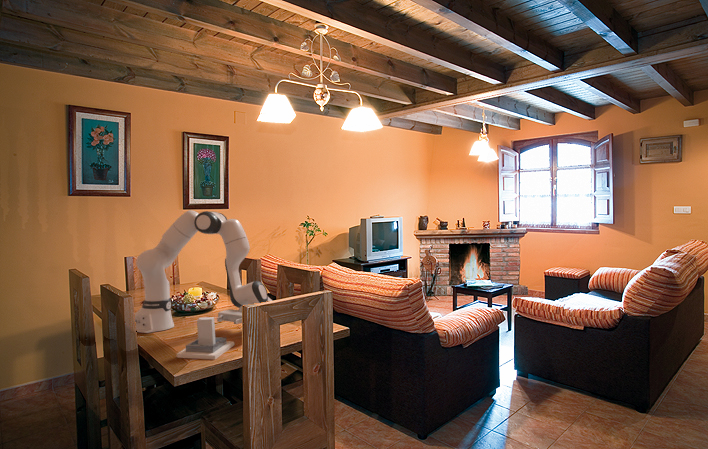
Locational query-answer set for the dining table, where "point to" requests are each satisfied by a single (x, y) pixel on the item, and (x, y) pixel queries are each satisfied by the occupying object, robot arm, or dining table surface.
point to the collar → (206, 349)
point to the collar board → (205, 355)
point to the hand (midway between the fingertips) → (226, 321)
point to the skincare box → (206, 331)
